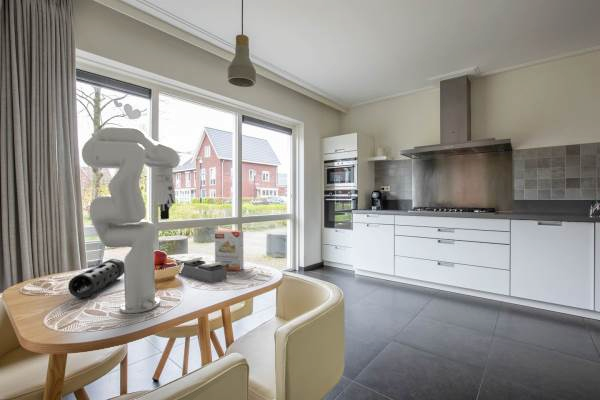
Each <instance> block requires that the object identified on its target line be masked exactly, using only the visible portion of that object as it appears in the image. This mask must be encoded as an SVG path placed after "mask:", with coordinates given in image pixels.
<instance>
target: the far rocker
mask: <svg viewBox="0 0 600 400" xmlns="http://www.w3.org/2000/svg"><path fill="white" fill-rule="evenodd" d="M188 260H189V261H188ZM188 260H184V261H185V262H187V263H195V262H198V260H201V261H202V260H203V257H202V256H201V257H196V258H192V259H188Z"/></svg>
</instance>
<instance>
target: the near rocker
mask: <svg viewBox="0 0 600 400" xmlns="http://www.w3.org/2000/svg"><path fill="white" fill-rule="evenodd" d="M219 264H220V262H215V261H214V262H211V261H210V262H205V264H201V266H204V267H208V268H209V267H213V266H215V265H219Z"/></svg>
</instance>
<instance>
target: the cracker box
mask: <svg viewBox="0 0 600 400" xmlns="http://www.w3.org/2000/svg"><path fill="white" fill-rule="evenodd" d="M214 262H220V264H219V265H223V267H225V268H226V271H230V270H235V272H240V271H242V270H243V269H244V230H228V229H225V230H224V229H223V230H222V229H219V230H216V231H214ZM241 269H242V270H241Z"/></svg>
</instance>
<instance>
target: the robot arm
mask: <svg viewBox="0 0 600 400" xmlns="http://www.w3.org/2000/svg"><path fill="white" fill-rule="evenodd" d="M81 158H82V161H83V162H84V164H85V165H87V167H90V168H94V169H118V171H117V172H116V173H115V174H114V176H112V177H111V180H110V181H109V183H108V186H107V187H108V190H109V191H108V192H109V195H105V194H104V195H99V196H97V197H95V198H93V199H92V200H91V202H90V203H89V204H90V205H89V216H90V217H89V218H90V220H91V223H92V225H93V227H94V229H95V231H96V235H97V236H98V238H99V240H100V243H101V244H102V245H104V246H105V247H107V248H131V249H130V250H129V251H128V253H127V254H126V255H125V257H124V260H123V262H124V273H123V275H124V277H123V278H124V280H123V281H124V303H122V304H121V305H120V306H119V311H120V312H121V313H124V314H139V313H143V312H147V311H150V310H153V309H156V308H157V307H158V306H160V303H161V301H160V298H158V297H156V289H155V288H156V285H155V284H156V282H155V281H156V280H155V279H156V278H155V247H156V246H155V244H156V239H157V231H158V230H157V225H156V224H155V223H154V222H153V221H151V220H147V219H145V217H146V214H147V210H146V205H145V200H144V197H143V193H142V191H141V187H140V180H141V176H142V173H143V169H144V166H146V167H148V168H151V169H154V183H155V185H154V187H155V188H154V202H155V204H157V207H159V212H160V220H169V219H170V209H171V207H172V206H173V204H176V192H175V185H174V175H173V174H174V173H173V172H174V170H173V169H175V168H177V167H178V166H179V164H180V161H181V160H180V155H179V154H178V152H177V150H176V149H175V148H174V147H173V146H171V145H167V144H166V143H161V142H159V141H155V140H153V139H152V138H151V137H149V136H148V135H147V133H145V132H144V131H143V130H142V129H140V128H137V127H131V126H130V127H127V126H125V127H123V126H121V127H120V126H118V127H117V126H107V127H104V128H102V129H100V130H99V131H97V132H96V133H95V134H94V135H93V136H92V137H90V138H89V139H88V140H87V141H86V142H85V143H84V145H83V147H82V150H81Z"/></svg>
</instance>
